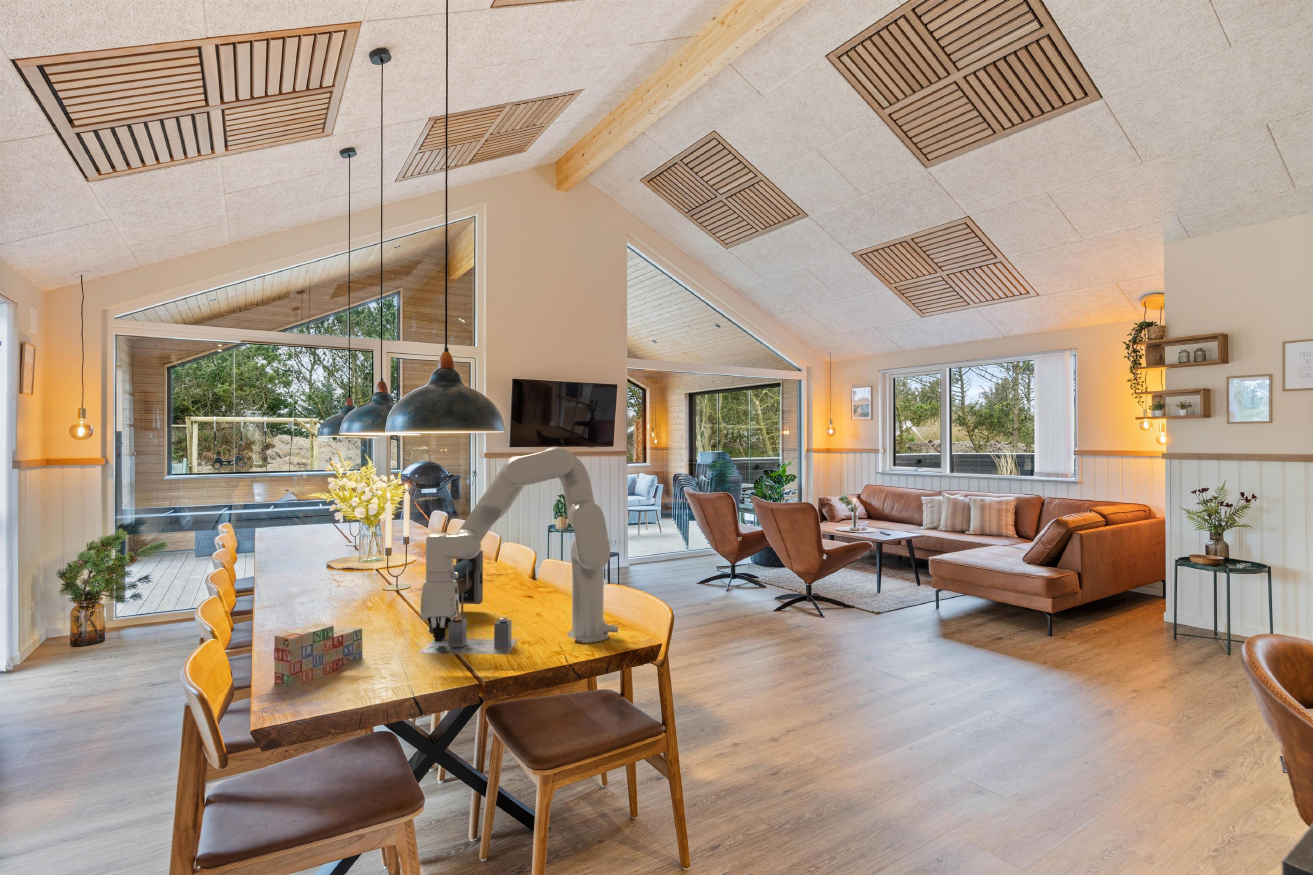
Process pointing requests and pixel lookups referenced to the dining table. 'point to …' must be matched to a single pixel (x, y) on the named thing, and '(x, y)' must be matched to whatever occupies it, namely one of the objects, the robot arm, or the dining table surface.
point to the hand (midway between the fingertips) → (439, 640)
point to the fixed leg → (502, 633)
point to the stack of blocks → (314, 652)
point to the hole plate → (466, 647)
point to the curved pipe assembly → (468, 582)
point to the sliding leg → (457, 632)
